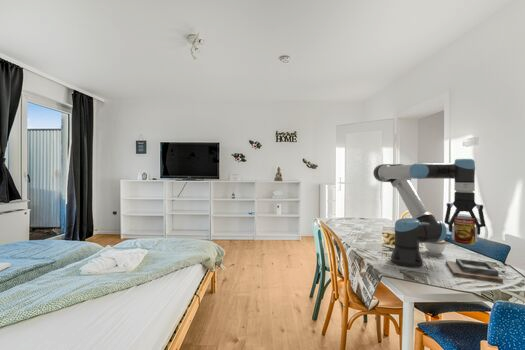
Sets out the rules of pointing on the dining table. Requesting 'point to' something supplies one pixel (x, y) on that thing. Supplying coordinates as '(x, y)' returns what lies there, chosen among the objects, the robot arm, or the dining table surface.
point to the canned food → (464, 230)
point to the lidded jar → (435, 247)
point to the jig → (474, 270)
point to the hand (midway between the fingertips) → (464, 240)
